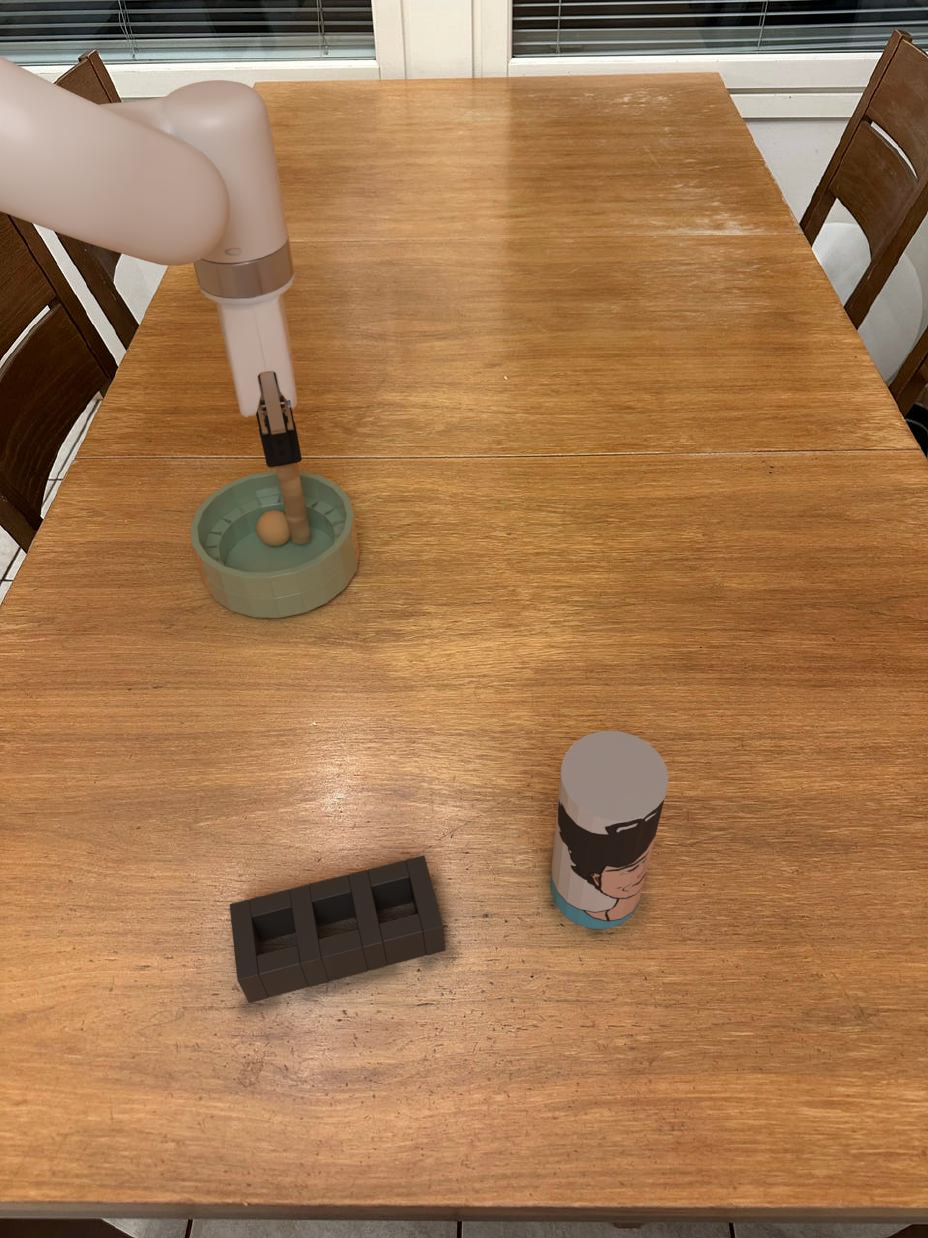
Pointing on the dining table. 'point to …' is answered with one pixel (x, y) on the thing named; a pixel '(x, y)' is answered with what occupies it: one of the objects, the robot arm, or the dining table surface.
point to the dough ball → (273, 528)
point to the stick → (293, 501)
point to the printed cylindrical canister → (605, 827)
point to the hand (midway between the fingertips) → (282, 452)
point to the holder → (342, 951)
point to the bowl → (274, 547)
